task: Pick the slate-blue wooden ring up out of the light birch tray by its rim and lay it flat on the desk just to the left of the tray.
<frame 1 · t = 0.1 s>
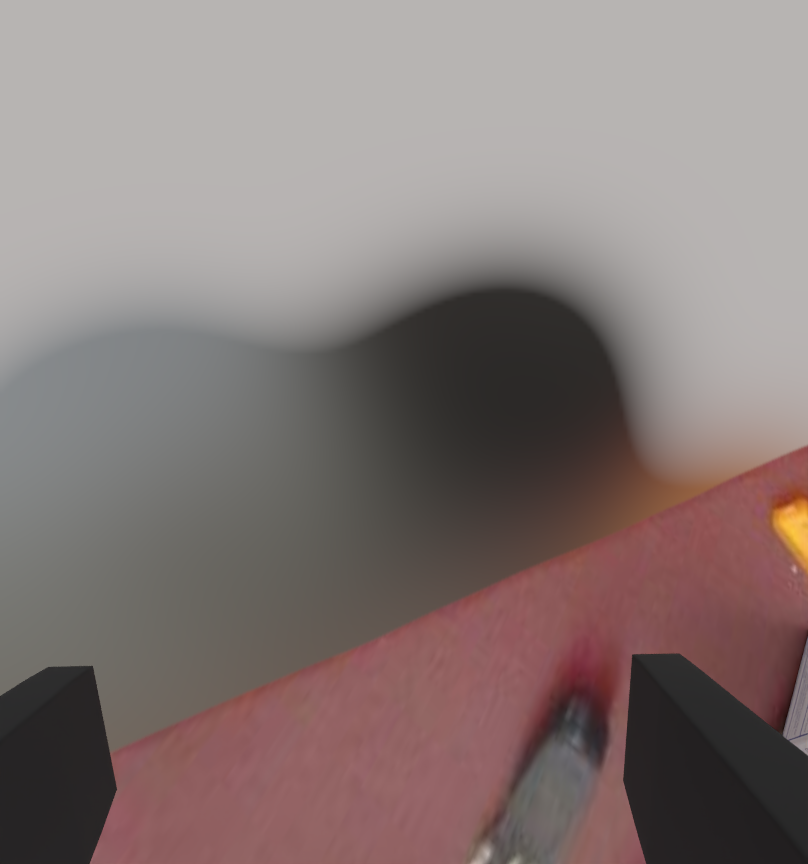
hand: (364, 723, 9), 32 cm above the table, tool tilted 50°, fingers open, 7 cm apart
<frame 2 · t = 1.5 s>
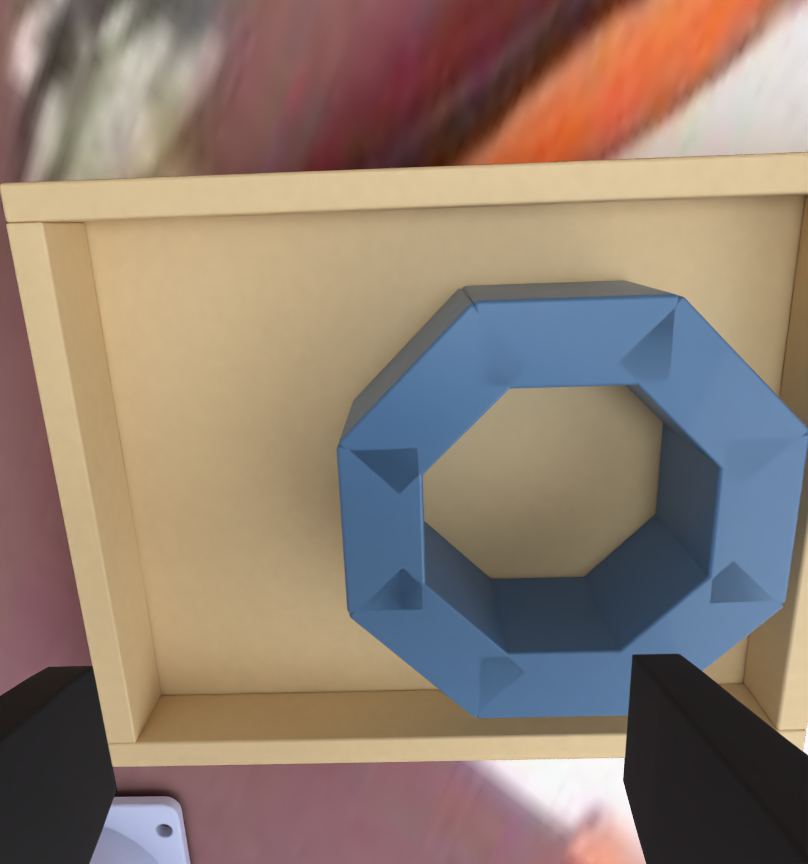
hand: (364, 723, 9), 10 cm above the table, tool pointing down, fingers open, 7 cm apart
tray: (444, 470, 18), on the table
ring: (539, 471, 18), resting on tray
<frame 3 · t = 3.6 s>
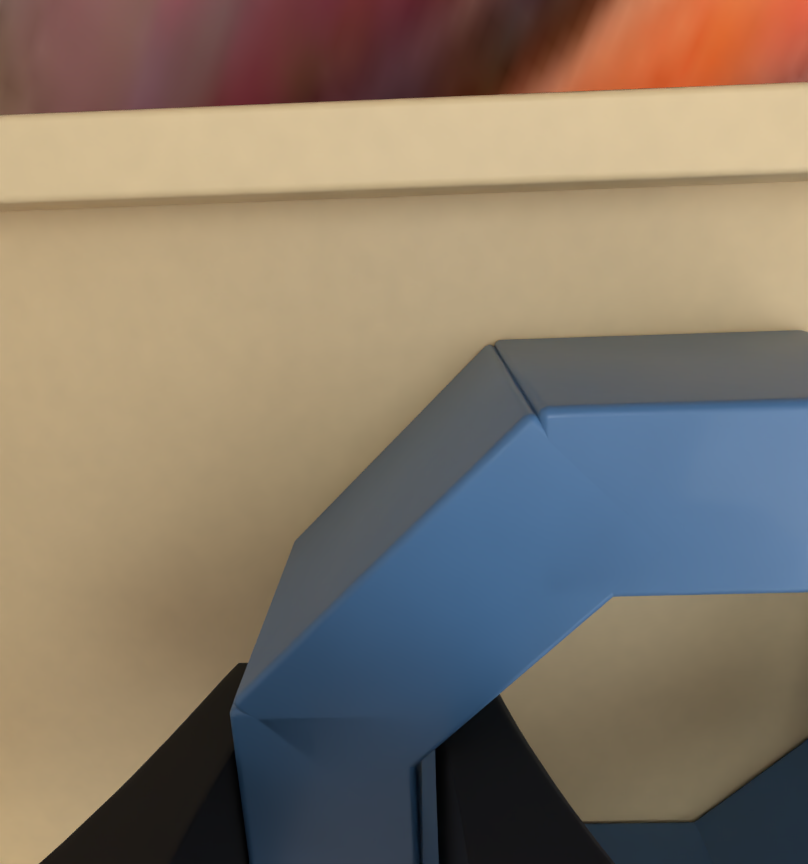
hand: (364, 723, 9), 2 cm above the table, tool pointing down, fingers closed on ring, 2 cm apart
tray: (467, 649, 11), on the table
ring: (625, 658, 10), resting on tray, touching gripper
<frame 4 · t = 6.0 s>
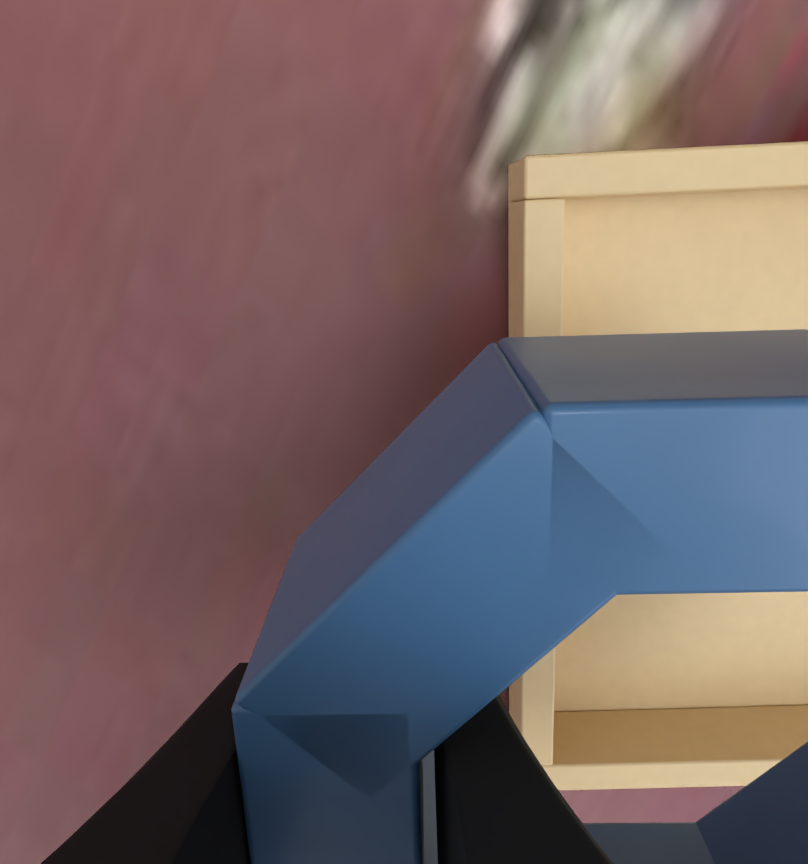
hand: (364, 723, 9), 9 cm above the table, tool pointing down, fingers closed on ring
ring: (627, 657, 10), point 7 cm above the table, touching gripper
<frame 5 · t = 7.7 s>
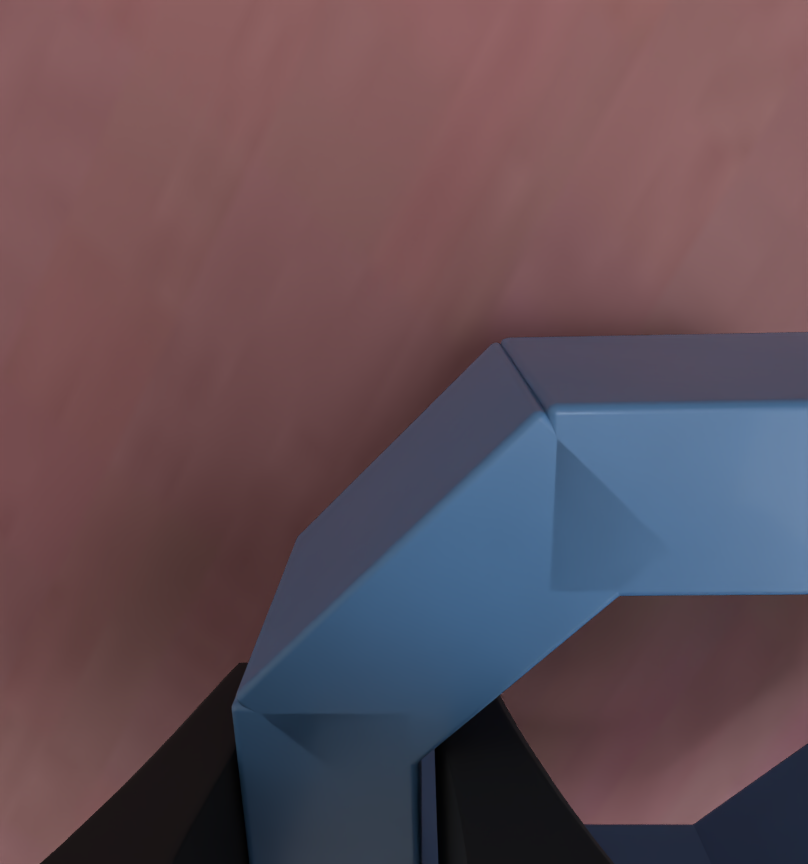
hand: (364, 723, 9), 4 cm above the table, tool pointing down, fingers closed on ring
ring: (626, 659, 10), point 3 cm above the table, touching gripper
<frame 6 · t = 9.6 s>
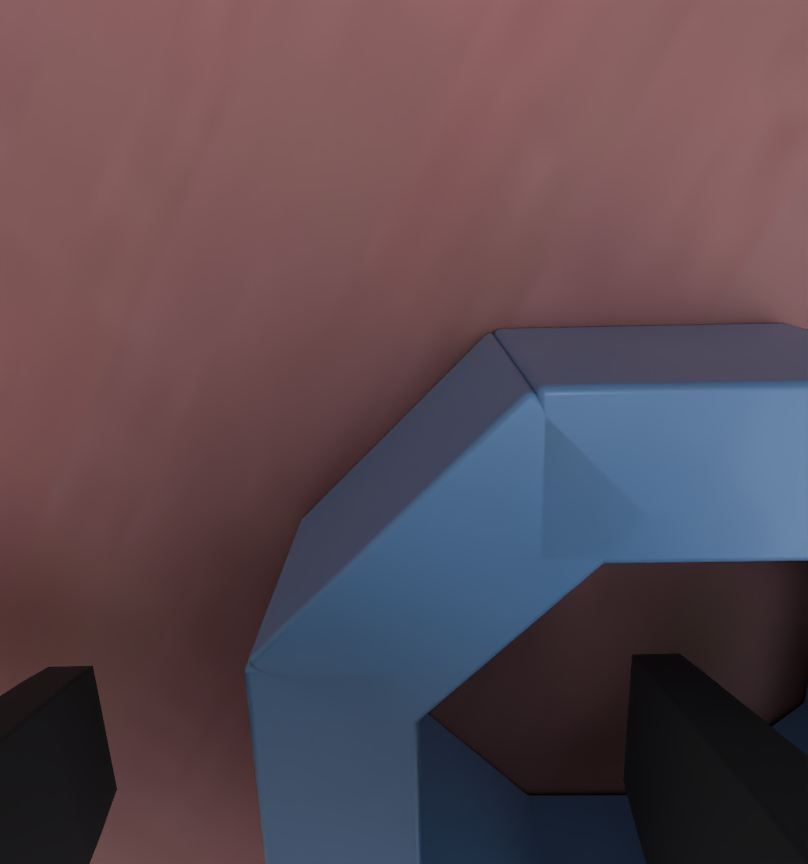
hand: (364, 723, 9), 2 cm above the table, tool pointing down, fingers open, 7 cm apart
ring: (614, 635, 11), on the table
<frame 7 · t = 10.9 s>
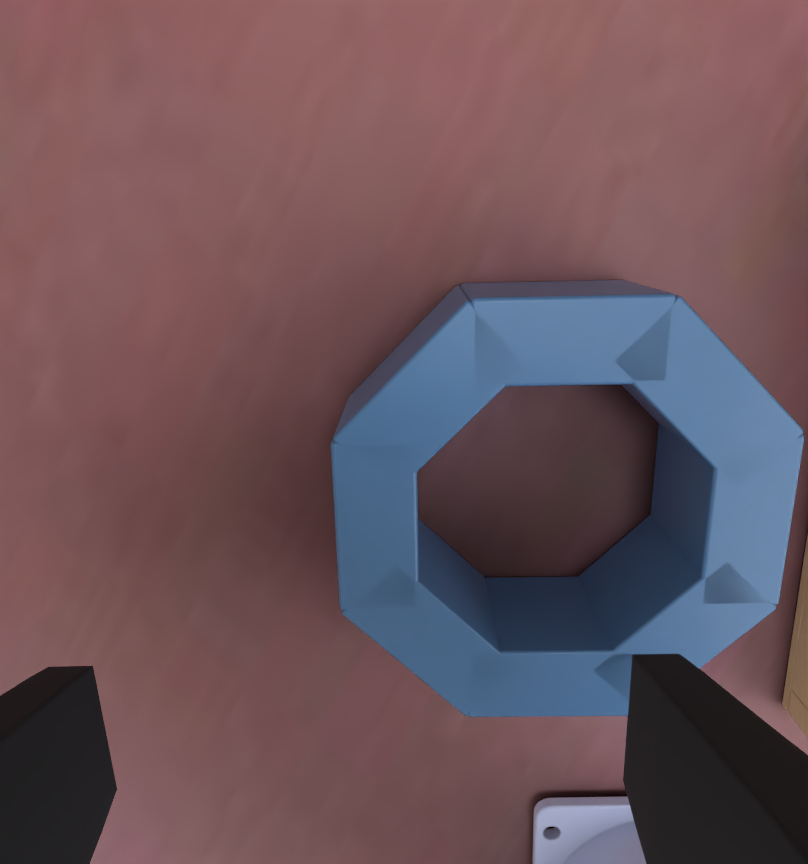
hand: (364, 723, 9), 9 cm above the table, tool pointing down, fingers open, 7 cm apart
ring: (534, 470, 18), on the table
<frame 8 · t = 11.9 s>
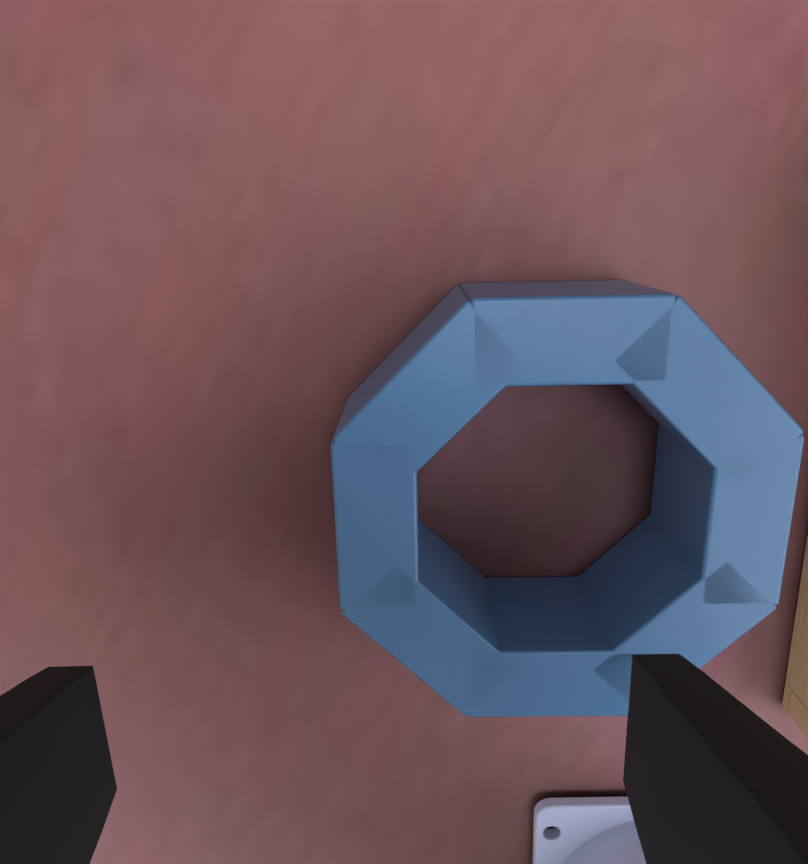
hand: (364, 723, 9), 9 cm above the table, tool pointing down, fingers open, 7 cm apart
ring: (534, 470, 18), on the table
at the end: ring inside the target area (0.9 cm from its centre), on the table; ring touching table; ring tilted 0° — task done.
